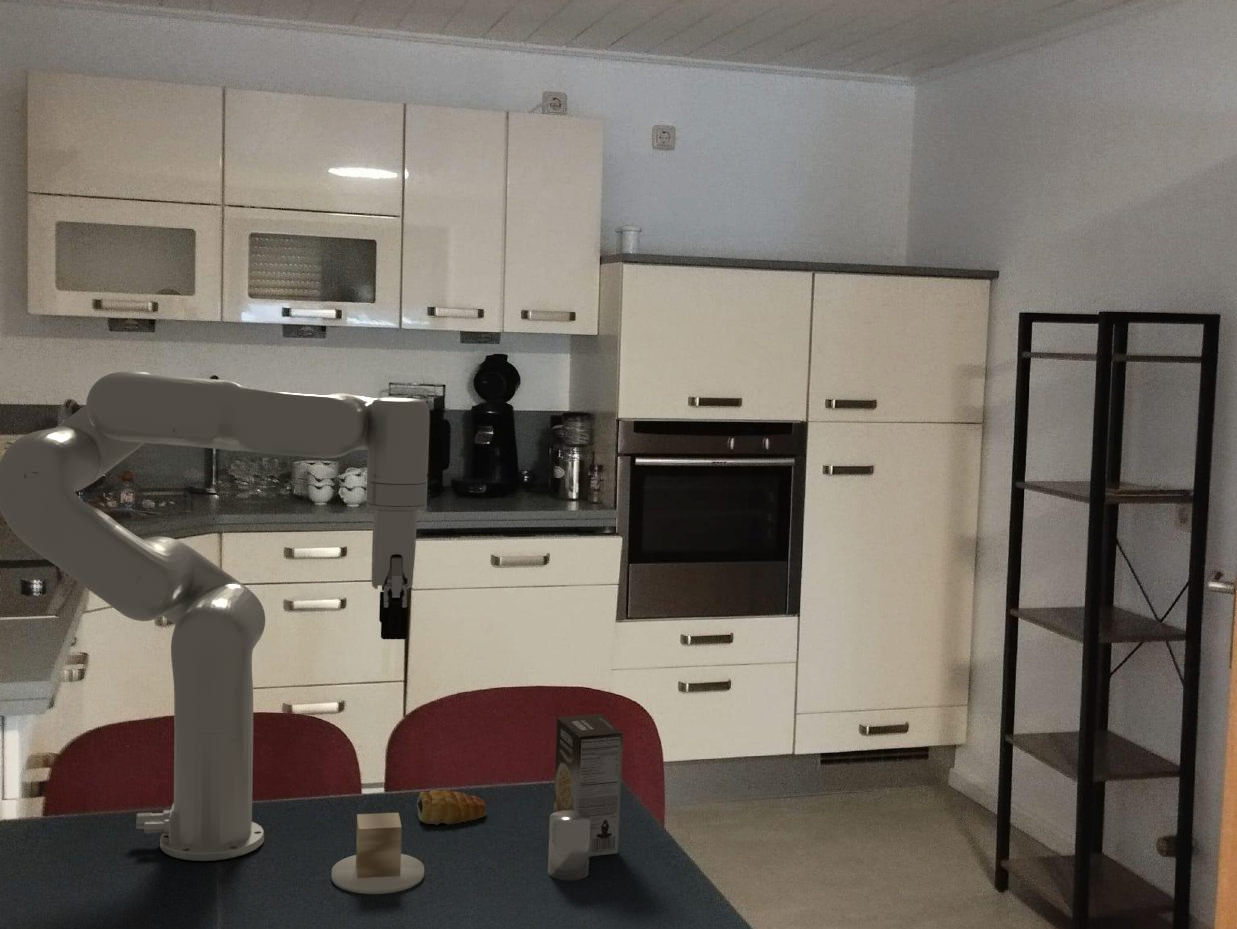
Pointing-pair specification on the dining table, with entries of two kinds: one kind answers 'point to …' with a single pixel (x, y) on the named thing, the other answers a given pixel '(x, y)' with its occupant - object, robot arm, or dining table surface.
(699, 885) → the dining table surface
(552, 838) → the tin
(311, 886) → the dining table surface
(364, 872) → the block
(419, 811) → the pastry
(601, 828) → the coffee box
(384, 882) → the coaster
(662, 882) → the dining table surface
